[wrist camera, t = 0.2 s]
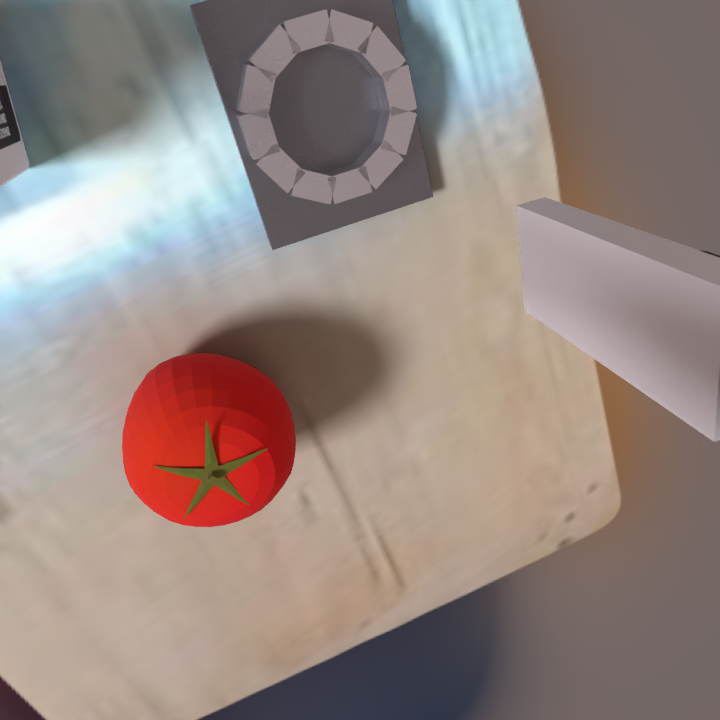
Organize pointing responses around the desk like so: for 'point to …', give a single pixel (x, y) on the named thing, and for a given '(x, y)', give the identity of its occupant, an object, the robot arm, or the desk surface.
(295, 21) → the collar
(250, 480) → the tomato
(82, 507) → the desk surface
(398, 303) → the desk surface
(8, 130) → the container
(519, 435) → the desk surface
